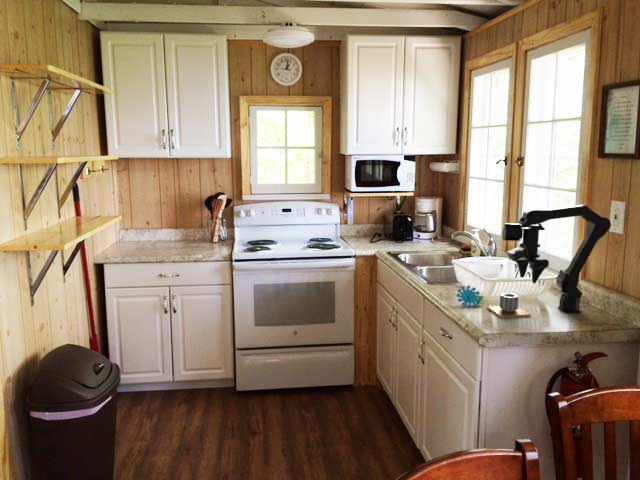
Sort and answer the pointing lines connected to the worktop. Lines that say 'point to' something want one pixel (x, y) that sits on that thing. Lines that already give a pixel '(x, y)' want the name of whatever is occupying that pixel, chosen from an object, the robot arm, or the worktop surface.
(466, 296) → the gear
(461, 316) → the worktop surface
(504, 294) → the hub
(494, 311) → the shaft stand
